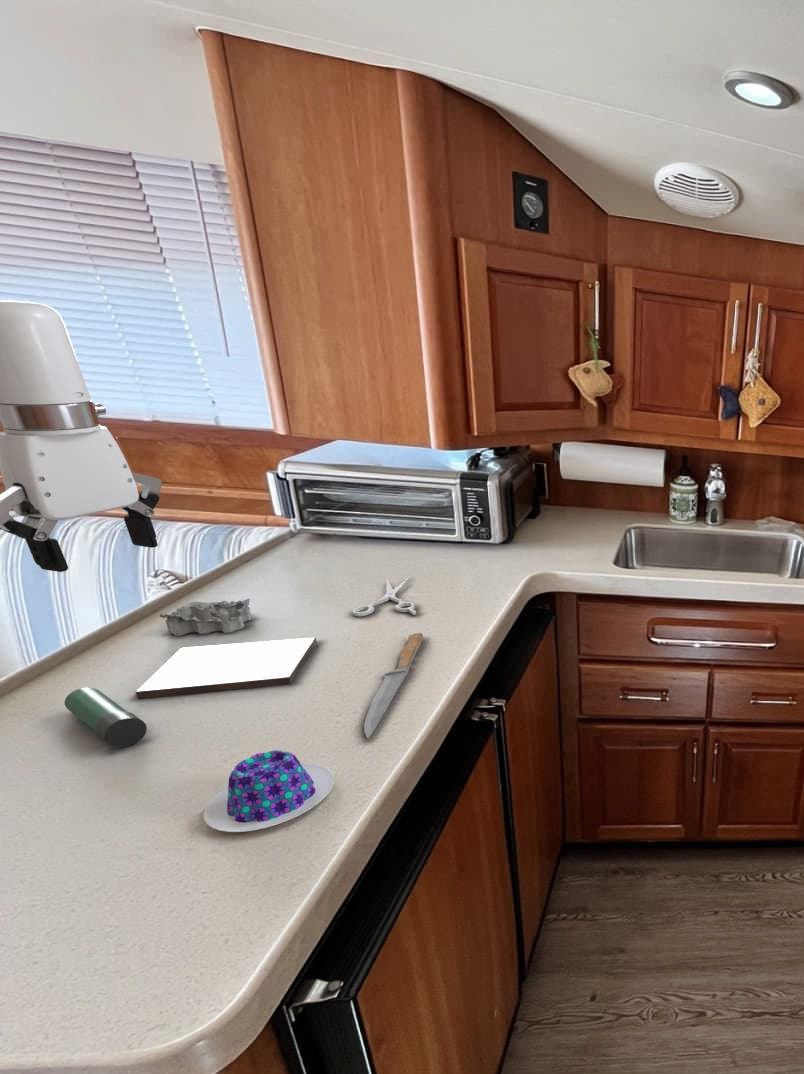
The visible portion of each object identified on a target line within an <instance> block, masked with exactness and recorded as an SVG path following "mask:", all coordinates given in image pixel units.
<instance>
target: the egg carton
mask: <svg viewBox="0 0 804 1074" xmlns="http://www.w3.org/2000/svg"><path fill="white" fill-rule="evenodd" d="M250 601H251V599H250V598H247V599H244V600H238V601H233V600H231V601H227V600H223V601H212V602H203V601H191V602H188V603H186V604H184V605H182V606H181V607H177V608H176V611H171V613H170V614H167V613H161V614H159V617H160V618H162V619H165V624H166V627H167V631H168V633H169V634H174V636H177V637H178V636H183V635H186V634H189V633H198V634H200V635H205V634H206V635H207V634H210V633H212V632H217V631H218V632H219V631H221V632H223V633H224V634H227V633H228V634H229V633H232V632H235V631H239V630H241V629H243V628H244V627H245V622H247V621H251V620H252V619H253V616H252V613H251V610H250V609H251V608H250Z"/></svg>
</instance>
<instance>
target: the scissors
mask: <svg viewBox="0 0 804 1074" xmlns="http://www.w3.org/2000/svg"><path fill="white" fill-rule="evenodd" d="M408 579H409V577H407V578H405V579H404V580H403V581H402V582H400V583H399V584H398V585H396V586H395V587H394V588H393V587H392V585H391V583H390V581H389V579H388V578H386V587H385V589H386V590H385V591H386V592H385V594H384V595H383V596H382V597H380V598H379V599H376V600H373V601H372V602H371V603H369V604H365V605H359V606H358V607H355V608H353V610H352V615H354V616H355V617H364V616H368V615H370V614H373V612H375V606H378V605H380V604H382V603H385V602H388V601H393V602H395V603H397V604H395V605H394V608H395V610H396V611H397V612H401V613H410V614H411V615H412V616H416V615H417V610H415V609H416V606H415V603H414V602H411V601H405V600H403V599H402V598H398V597H397V596H396V594H397V593H398V592H399V591H400V589H402V588H403V586H404V585H405V583H407V581H408Z"/></svg>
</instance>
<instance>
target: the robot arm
mask: <svg viewBox="0 0 804 1074" xmlns="http://www.w3.org/2000/svg"><path fill="white" fill-rule="evenodd" d="M71 341H72V340H71V338H70V336H69V333H68V330H67V327H66V324H65V322H64V319H63V318H62V316H61V314H60V313H59V312H58V311H57V310H56V309H54V308H53V307H51V306H49V305H46V304H43V303H38V302H31V301H20V300H4V299H3V300H2V299H0V423H1V425H2V428H3V431H0V476H1V478H2V482H3V485H4V489H5V491H3V492H2V493H0V530H1V531H4V532H6V533H9V534H11V535H14V536H15V537H17V538H19V539H23V540H25V542H26V545H27V547H28V549H29V551H30V553H31V556H32V559H33V561H34V563H35V564H36V565H37V566H39V567H40V568H41V569H42V570H43V571H44V570H45V571H51V572H57V573H63V572H66V571H68V569H69V566H68V565H69V564H68V563H67V561H66V558H65V556H64V553H63V550H62V548H61V545H60V543H59V541H58V540H57V539H56V538H50V537H51V535H52V532H53V530H54V528H55V527H56V525H57V523H58V522H59V521H66V520H71V519H76V518H80V517H81V518H82V517H86V516H90V515H96V514H101V513H105V512H110V511H115V510H119V509H120V511H123V512H125V513H127V515H124V516H123V521H124V523H125V527H126V529H127V532H128V535H129V538H130V540H131V544H132V545H134V546H138V547H144V548H151V549H153V548H157V547H158V546H159V544H158V540H157V533H156V530H155V528H154V524H153V522H152V519H151V518H152V517H154V516H155V510H154V509H155V508H156V506H157V505H158V503H159V502H160V495H159V494H161V489H162V484H163V482H162V480H161V479H160V478H158V477H154V476H150V475H145V474H142V473H138V472H133V471H131V469H130V468H131V467H130V465H129V464H128V461H127V460H126V458H125V456H124V453H123V451H122V449H121V448H120V446H119V445H118V443H117V441H116V440H115V438H114V437H113V434H112V433H111V431H109V429H108V428H107V426H103V425H101V424H100V422H101V420H100V418H99V416H105V415H106V414H107V409H106V407H105V406H104V405H103V404H102V403H94V402H93V400H92V398H91V396H90V392H89V389H88V387H87V383H86V382H85V377H84V376H83V375H84V374H83V373H82V370H81V367H80V364H79V361H78V358H77V355H76V353H75V349H74V346H73V344H72V342H71ZM137 485H140V486H141V493H140V494H139V490H138V486H137ZM12 509H13V511H14V513H15V514H16V515H17V516H20V517H23V519H22V520H21V521H18V520H16V519H14V518H13V516H12V515H11V514H10V511H11V510H12Z"/></svg>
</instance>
